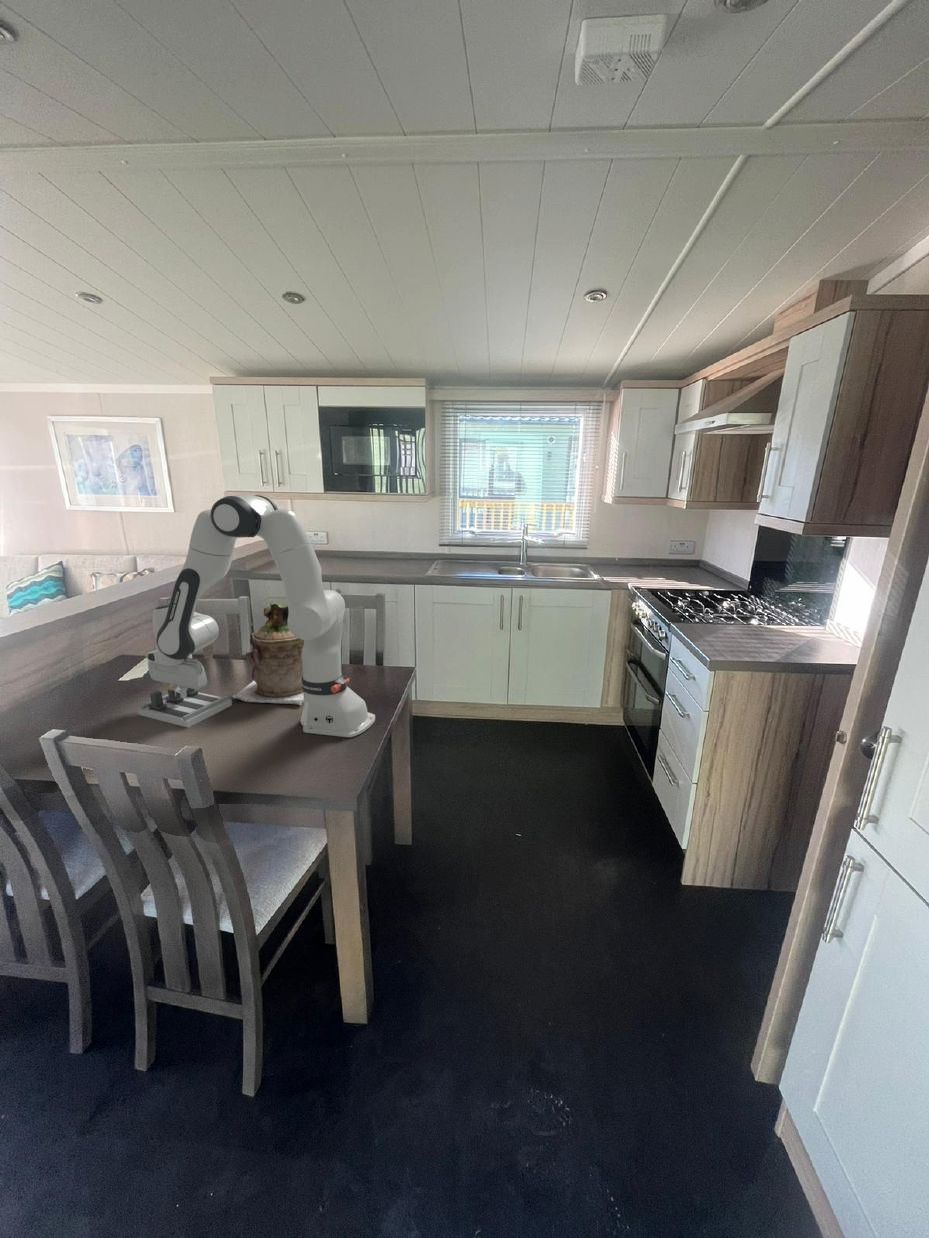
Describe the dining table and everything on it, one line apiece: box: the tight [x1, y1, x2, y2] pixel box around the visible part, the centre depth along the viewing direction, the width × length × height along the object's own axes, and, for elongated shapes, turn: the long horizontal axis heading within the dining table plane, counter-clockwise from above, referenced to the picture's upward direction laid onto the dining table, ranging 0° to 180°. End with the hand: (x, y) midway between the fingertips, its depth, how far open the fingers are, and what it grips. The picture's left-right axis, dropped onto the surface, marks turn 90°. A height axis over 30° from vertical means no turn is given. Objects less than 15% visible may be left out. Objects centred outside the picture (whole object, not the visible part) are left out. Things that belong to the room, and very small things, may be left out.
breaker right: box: [186, 688, 199, 696], centre depth 153 cm, size 5×2×5 cm, turn 69°
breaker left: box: [149, 690, 167, 710], centre depth 143 cm, size 5×2×5 cm, turn 69°
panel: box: [138, 691, 233, 728], centre depth 148 cm, size 20×16×3 cm
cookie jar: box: [231, 601, 304, 707], centre depth 160 cm, size 25×25×32 cm
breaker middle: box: [166, 685, 184, 703], centre depth 148 cm, size 5×2×5 cm, turn 69°
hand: (181, 696), depth 147 cm, fingers closed
